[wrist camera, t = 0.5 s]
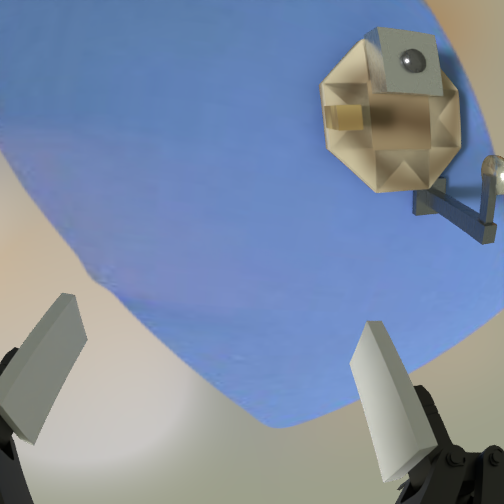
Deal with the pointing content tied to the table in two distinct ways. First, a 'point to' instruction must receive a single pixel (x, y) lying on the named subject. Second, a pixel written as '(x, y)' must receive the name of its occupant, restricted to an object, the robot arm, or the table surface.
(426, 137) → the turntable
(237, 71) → the table surface
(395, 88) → the cover
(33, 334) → the robot arm
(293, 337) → the table surface
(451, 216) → the dial post
